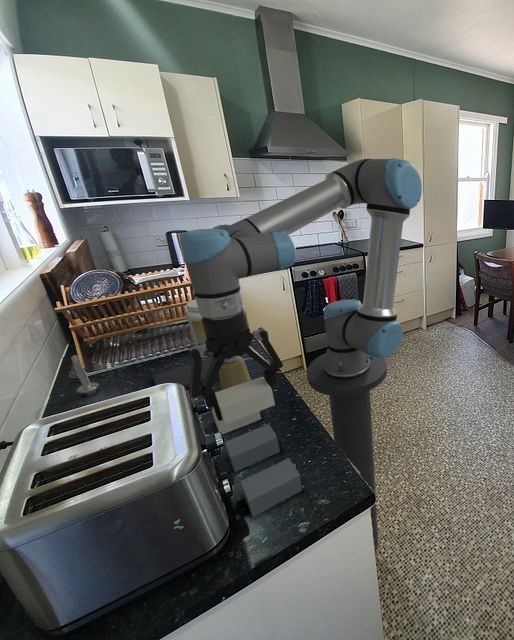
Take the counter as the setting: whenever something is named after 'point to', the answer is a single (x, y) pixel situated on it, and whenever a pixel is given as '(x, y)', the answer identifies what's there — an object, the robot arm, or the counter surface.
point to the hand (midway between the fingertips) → (246, 406)
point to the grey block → (252, 447)
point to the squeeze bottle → (233, 372)
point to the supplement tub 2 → (195, 323)
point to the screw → (84, 379)
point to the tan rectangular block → (244, 399)
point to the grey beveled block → (271, 486)
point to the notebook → (182, 374)
